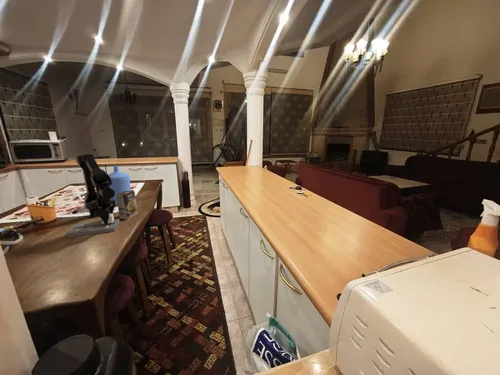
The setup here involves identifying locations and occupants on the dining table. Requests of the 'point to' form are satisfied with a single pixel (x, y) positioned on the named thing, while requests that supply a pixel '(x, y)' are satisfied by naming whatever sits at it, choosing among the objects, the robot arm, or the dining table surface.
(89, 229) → the console board
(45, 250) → the dining table surface
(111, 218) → the fader knob
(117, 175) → the water jug
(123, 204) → the coffee box
